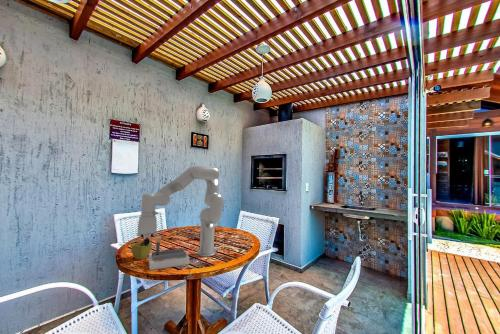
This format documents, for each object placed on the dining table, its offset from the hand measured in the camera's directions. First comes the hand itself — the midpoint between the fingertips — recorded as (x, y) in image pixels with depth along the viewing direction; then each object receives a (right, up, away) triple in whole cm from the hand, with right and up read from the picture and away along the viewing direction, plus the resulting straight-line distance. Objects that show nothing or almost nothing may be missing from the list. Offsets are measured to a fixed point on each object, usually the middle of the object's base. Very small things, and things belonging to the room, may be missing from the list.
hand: (146, 245), depth 130 cm
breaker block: (+11, -13, +5) cm, 18 cm away
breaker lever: (+5, -8, +3) cm, 10 cm away
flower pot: (-9, -13, +12) cm, 20 cm away
